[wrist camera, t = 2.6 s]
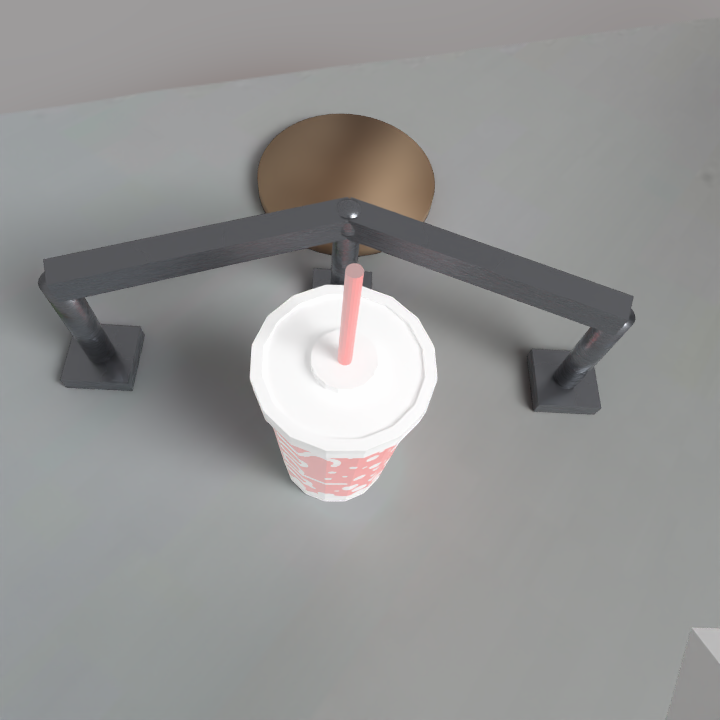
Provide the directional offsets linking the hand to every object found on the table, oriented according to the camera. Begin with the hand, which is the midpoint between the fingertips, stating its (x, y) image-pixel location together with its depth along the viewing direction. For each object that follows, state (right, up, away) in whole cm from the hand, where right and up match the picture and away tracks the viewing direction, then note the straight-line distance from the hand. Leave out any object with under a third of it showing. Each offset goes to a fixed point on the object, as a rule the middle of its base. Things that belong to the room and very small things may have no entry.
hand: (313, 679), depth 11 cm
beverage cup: (0, +1, +17) cm, 17 cm away
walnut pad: (0, +16, +24) cm, 29 cm away
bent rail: (0, +7, +20) cm, 21 cm away
